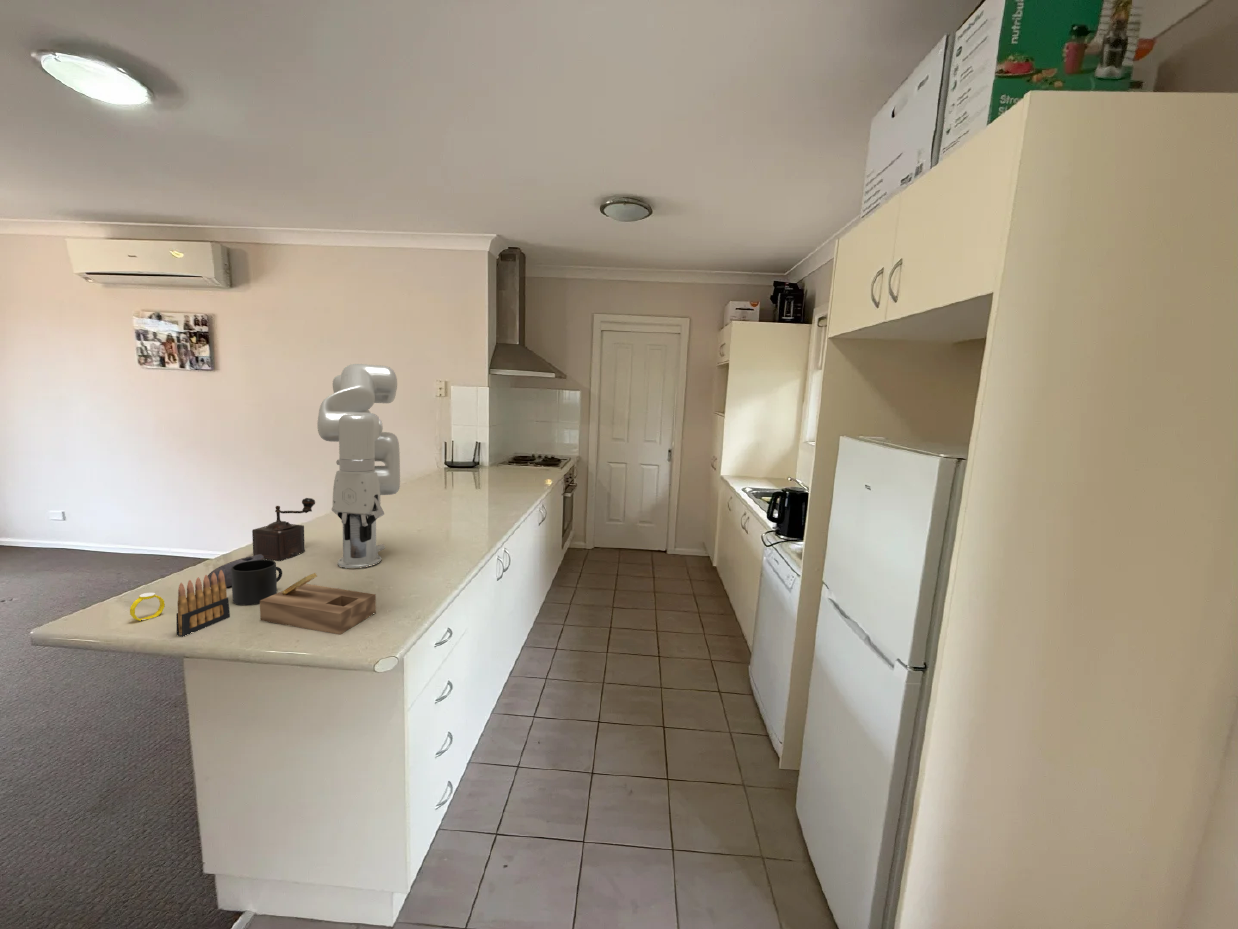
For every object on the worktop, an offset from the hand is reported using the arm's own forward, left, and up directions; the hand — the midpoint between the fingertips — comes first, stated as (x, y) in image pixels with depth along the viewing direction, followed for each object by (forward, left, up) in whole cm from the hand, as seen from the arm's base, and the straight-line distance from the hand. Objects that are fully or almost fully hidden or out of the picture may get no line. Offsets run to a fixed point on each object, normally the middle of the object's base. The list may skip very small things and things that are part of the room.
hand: (358, 539), depth 122 cm
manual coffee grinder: (-32, -54, -20) cm, 66 cm away
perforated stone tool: (-6, -44, -20) cm, 49 cm away
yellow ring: (+17, -43, -20) cm, 50 cm away
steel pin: (0, 0, -4) cm, 4 cm away
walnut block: (+4, -8, -20) cm, 21 cm away
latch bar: (+4, -13, -12) cm, 19 cm away
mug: (-1, -31, -20) cm, 37 cm away
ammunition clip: (+16, -28, -20) cm, 38 cm away
